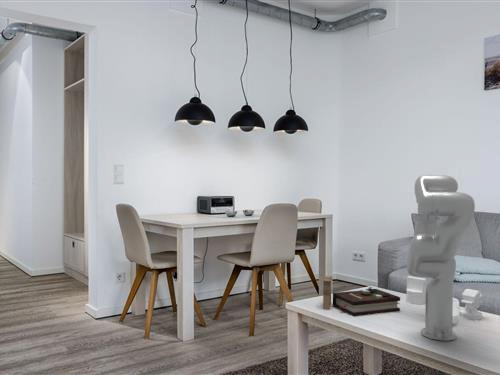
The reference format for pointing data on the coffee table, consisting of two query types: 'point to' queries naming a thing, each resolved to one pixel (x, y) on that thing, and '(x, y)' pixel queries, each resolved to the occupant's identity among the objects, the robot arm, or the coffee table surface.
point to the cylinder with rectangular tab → (416, 290)
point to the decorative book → (365, 302)
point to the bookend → (327, 292)
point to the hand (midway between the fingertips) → (426, 260)
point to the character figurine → (471, 304)
